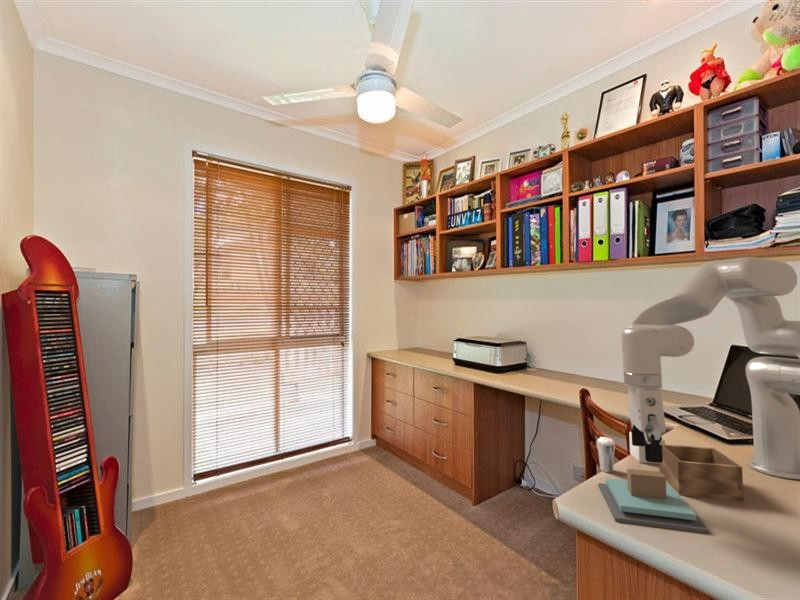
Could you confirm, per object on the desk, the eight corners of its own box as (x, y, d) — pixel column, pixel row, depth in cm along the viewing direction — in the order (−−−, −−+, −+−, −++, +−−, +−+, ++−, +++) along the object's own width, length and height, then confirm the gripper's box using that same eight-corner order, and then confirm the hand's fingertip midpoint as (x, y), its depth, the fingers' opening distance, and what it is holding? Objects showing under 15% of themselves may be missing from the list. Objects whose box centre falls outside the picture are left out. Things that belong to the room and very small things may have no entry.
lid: (670, 493, 91) (668, 464, 92) (696, 524, 78) (695, 490, 78) (606, 486, 96) (605, 458, 96) (621, 514, 82) (620, 482, 82)
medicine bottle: (666, 464, 110) (664, 423, 110) (639, 463, 111) (637, 422, 112) (654, 455, 117) (653, 416, 117) (629, 454, 118) (628, 416, 119)
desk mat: (674, 494, 92) (674, 491, 92) (709, 533, 76) (708, 529, 76) (598, 486, 97) (598, 483, 97) (615, 521, 81) (615, 517, 81)
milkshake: (591, 467, 109) (590, 432, 109) (609, 466, 109) (608, 432, 109) (601, 474, 104) (600, 438, 104) (619, 473, 105) (618, 437, 105)
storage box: (715, 478, 101) (713, 448, 101) (743, 501, 88) (742, 467, 89) (659, 472, 105) (658, 443, 105) (679, 494, 92) (677, 461, 92)
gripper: (676, 388, 78) (681, 470, 78) (648, 373, 95) (651, 441, 94) (635, 387, 81) (640, 467, 80) (614, 373, 97) (618, 439, 97)
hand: (646, 453), depth 87 cm, fingers open, 9 cm apart
